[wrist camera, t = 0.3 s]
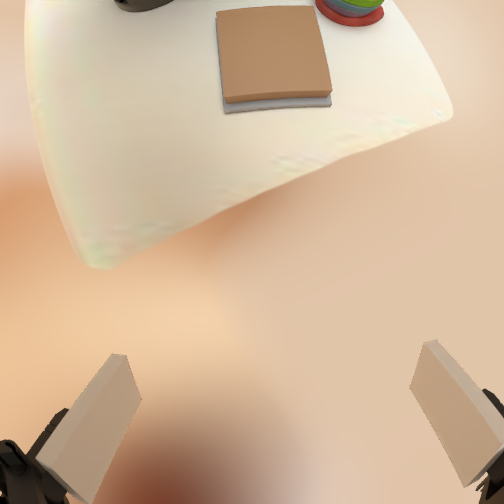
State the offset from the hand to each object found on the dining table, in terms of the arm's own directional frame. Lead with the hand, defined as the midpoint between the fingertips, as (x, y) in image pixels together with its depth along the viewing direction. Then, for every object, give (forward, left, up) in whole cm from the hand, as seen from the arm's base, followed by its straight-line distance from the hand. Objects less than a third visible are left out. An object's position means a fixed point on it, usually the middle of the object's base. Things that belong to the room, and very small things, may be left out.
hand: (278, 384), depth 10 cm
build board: (-26, +3, -28) cm, 38 cm away
